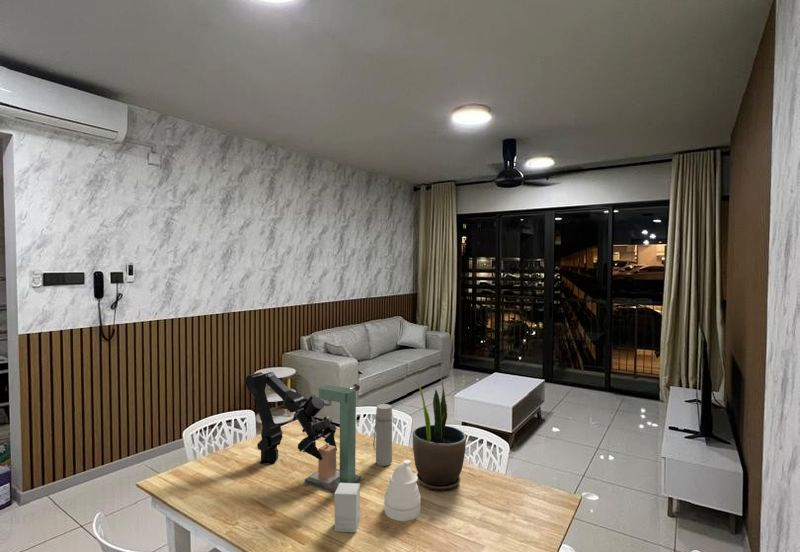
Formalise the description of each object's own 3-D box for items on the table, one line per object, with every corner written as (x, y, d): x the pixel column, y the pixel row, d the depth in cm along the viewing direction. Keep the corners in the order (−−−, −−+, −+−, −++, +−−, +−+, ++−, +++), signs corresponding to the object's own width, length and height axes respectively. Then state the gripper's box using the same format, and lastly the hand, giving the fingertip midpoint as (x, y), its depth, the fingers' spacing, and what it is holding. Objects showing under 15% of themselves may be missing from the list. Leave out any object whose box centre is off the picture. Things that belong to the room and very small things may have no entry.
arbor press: (304, 482, 168) (305, 388, 167) (335, 463, 185) (335, 377, 185) (341, 494, 159) (342, 395, 159) (369, 473, 177) (370, 383, 176)
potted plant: (451, 465, 184) (452, 373, 183) (475, 490, 163) (476, 387, 163) (405, 472, 178) (406, 377, 177) (423, 499, 157) (424, 392, 156)
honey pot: (428, 509, 150) (428, 459, 150) (403, 525, 141) (404, 472, 140) (401, 496, 159) (402, 448, 159) (376, 510, 150) (377, 459, 149)
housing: (318, 475, 170) (318, 444, 170) (326, 470, 174) (326, 440, 174) (328, 478, 168) (328, 447, 167) (336, 473, 172) (336, 443, 172)
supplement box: (360, 519, 144) (360, 483, 144) (356, 533, 136) (356, 494, 136) (339, 518, 145) (339, 481, 144) (333, 531, 137) (334, 493, 137)
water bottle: (395, 461, 187) (396, 405, 187) (385, 468, 180) (386, 410, 180) (378, 456, 192) (379, 401, 192) (368, 463, 185) (368, 406, 185)
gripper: (303, 418, 164) (325, 453, 159) (333, 405, 181) (354, 436, 176) (288, 434, 168) (309, 468, 163) (319, 420, 185) (339, 450, 180)
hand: (329, 455), depth 170 cm, fingers open, 9 cm apart
